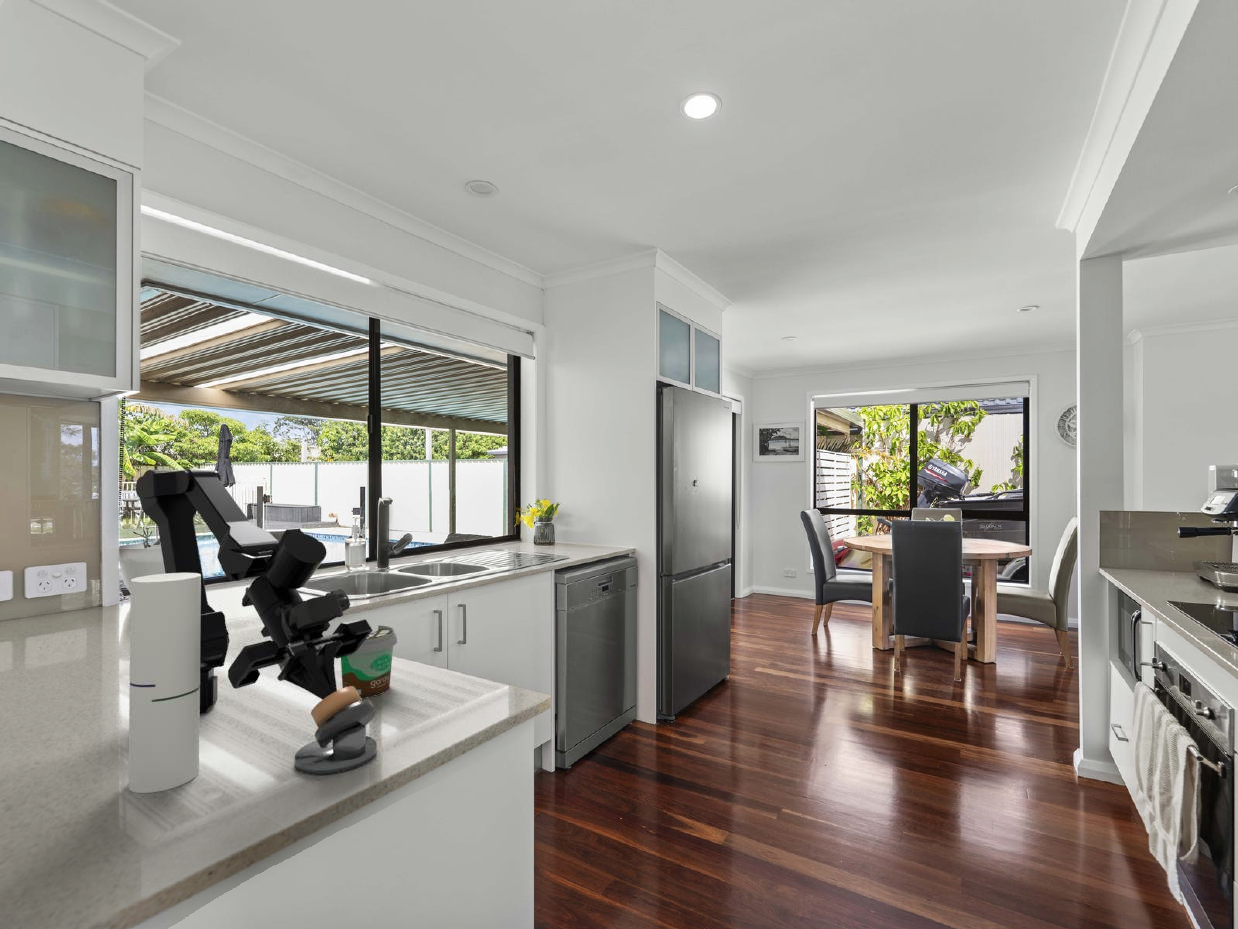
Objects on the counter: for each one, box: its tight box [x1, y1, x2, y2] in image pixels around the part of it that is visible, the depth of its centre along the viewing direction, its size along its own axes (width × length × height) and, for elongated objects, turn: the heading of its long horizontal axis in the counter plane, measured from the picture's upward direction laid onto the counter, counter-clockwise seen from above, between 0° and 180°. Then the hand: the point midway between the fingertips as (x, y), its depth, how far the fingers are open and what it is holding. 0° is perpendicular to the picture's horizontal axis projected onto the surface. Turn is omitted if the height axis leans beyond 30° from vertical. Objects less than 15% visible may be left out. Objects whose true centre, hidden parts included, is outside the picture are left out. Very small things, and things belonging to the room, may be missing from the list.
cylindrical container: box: [127, 573, 201, 794], centre depth 79 cm, size 7×7×25 cm
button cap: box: [310, 686, 363, 729], centre depth 85 cm, size 6×6×6 cm
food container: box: [340, 624, 398, 699], centre depth 111 cm, size 12×6×10 cm, turn 168°
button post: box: [294, 699, 378, 776], centre depth 85 cm, size 10×10×8 cm
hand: (333, 700), depth 85 cm, fingers closed, pressing on button cap
